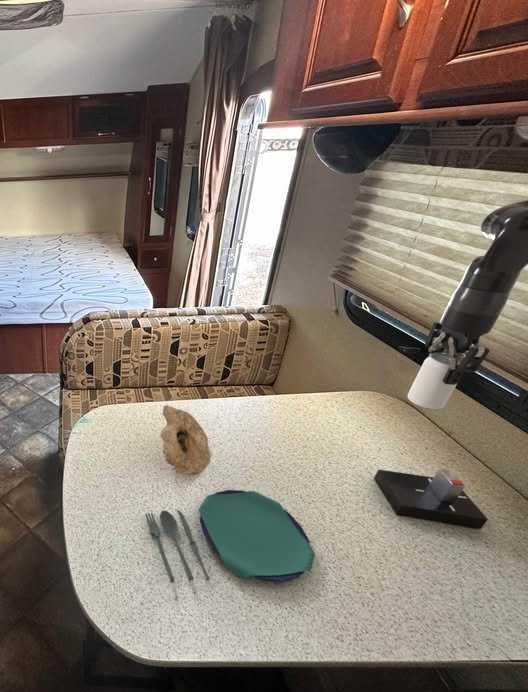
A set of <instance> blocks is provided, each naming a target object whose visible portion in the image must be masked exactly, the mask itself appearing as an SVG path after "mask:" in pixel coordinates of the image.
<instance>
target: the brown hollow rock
mask: <svg viewBox="0 0 528 692" xmlns="http://www.w3.org/2000/svg"><path fill="white" fill-rule="evenodd" d="M162 416H163V417H164V419H165V421H166V425H165V426H164V427H163V428H162V429H161V431H160V438H161V440H162V441H163V445H162V449H163V450H162V453H163V454H164V459H165V461H166V462H167V464H169V465H170V466H172V468H171V470H172V471H174V470H175V472H180V473H185V474H188V475H191V473H200V472H202V471H203V470H205V468H207V467H208V466H209V464H210V461H211V454H210V447H209V440H208V439H209V438H208V436H207V434H206V433H205V430H204V429H203V428H202V427H201V424H199V422H198V421H197V420H196V419H195V417H194V416H193V415H192V414H191V413H190V412H187V411H184V410H182V409H180V408H175V407H174V406H170V405H168V404H166V405H164V406H163V408H162Z"/></svg>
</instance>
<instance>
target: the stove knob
mask: <svg viewBox="0 0 528 692" xmlns="http://www.w3.org/2000/svg"><path fill="white" fill-rule="evenodd" d="M433 477H434V478H433V479H432V481H431V483H430V484H429V486H430V487H431V488H432V490H433V491H434V492H435V494H436V495H437V496H438V498H439V499H440V500H441V502H447V503H454V502H455V500H456V499H457V497H458V496H459V495H460V493H461V492H462V490H463V491H464V489H465V488H466V486H465V484H464V483H463V481H461V480H460V479H459V478H458V477H457V476H456V474H455V473H454V472H453V471H452V470H451V469H446V468H438V470H437V471H436V473H435V474H434V476H433Z"/></svg>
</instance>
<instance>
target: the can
mask: <svg viewBox="0 0 528 692" xmlns="http://www.w3.org/2000/svg"><path fill="white" fill-rule="evenodd" d="M448 355H449V353H445V352H444V353H432V354H430V357H428V356H427V357H428V358H427V357H426V358H425V359H424V361H423V363H422V365H421V366H420V368H419V371H418V373H417V375H416V377H415V379H414V381H413V383H412V385H411V387H410V389H409V392H408V393H407V399H408V400H409V402H411V403H412V404H413V405H415V406H416V407H417V406H418V407H420V408H422V409H426V410H431V411H438V410H442V409H444V408H445V406H446V404H447V403H448V401H449V399H450V397H451V396H452V394H453V392H454V390H455V388H456V386H457V385H458V383H457V384H455V385H451V384H445V383H444V382H443V379H444V377H445V375H446V373H447V371H448V369H449V368H450V365H451V359H450V358H449V357H448ZM461 361H462V360H461V359H458V365H459V364H460V363H461Z"/></svg>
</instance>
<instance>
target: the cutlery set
mask: <svg viewBox="0 0 528 692" xmlns="http://www.w3.org/2000/svg"><path fill="white" fill-rule="evenodd" d="M176 511H177V514H178V516H179V519H180V521H181V523H182V525H183V528H184V530H185V533H186V535H187V537H188V539H189V546H191V548H192V552H193V553H194V554H195V556H196V557H197V561H198V562H199V565H200V566H201V569H202V571H203V574H204V576H205V581H210V580H211V577H210V576H209V575H208V572H207V570H206V568H205V566H204V562H203V560H202V558H201V555H200V553H199V547H198V546H197V545H196V544H197V542H196V541H194V538H193V534H192V531H191V529H190V526H189V523H188V522H187V520H186V517H185V515H184V513H183V512H182V511H180V510H179V509H178V510H176ZM197 511H198V512H199V523H200V526H201V530H202V533H203V536H204V538H205V539H206V541H207V542H208V544H209V545H210V547H211V548H212V550H213V551H214V552H215V553H216V554H217V555H218V556H219V557H220V558H221V561H222V562H223V565H224V567H225V568H226V569H227V570H228V571H230V572H231V573H232V574H235V575H236V576H238V577H240V578H247V577H253V578H255V579H258V580H262V581H264V582H265V581H266V582H278V583H279V582H280V583H284V582H288V581H292V580H295V579H298V578H300V577H301V576H302V575H303V574H304V573H305V572H311V570H312V566H313V564H314V560H315V556H316V554H315V550H314V548H312V545H311V542H310V539H309V537H308V536H307V533H306V532H305V530H304V529H303V527H302V525H301V524H300V523H299V522H298V521H297V520H296V519H295V517H293V515H292V514H291V513H290V512H289V511H287V510H286V509H285V508H284V507H283V506H282V504H281V503H280V502H278V501H276V500H274V499H272V498H270V497H269V496H266V495H264V494H261V493H259V492H257V491H255V490H248V491H246V490H240V489H238V490H237V489H226V490H221V491H218V492H215V493H213V494H208V495H206V497H205V498H204V500H203V502H202V503H201V505H200V506H199V507H198V510H197ZM145 518H146V522H147V526H148V529H149V533H150V535H151V536H152V537H154V540H155V541H156V543H157V546H158V550H159V553H160V556H161V558H162V562H163V564H164V568H165V570H166V573H167V576H168V578H169V581H170V583H175V578H174V574H173V572H172V569H171V566H170V563H169V561H168V559H167V556H166V553H165V550H164V547H163V544H162V541H161V529H160V527H159V525H158V523H157V521H156V519H155V517H154V514H153V512H151V513H150V512H148V513H147V512H146V513H145ZM159 520H160V525H161V526H162V528H163V531H165V532H166V533H167V534H169V535H170V536H171V538H172V539H173V541H174V544H175V547H176V549H177V552H178V554H179V557H180V559H181V562H182V565H183V568H184V571H185V573H186V577H187V579H188V581H193V580H194V576H193V573H192V571H191V569H190V566H189V564H188V562H187V560H186V557H185V555H184V552H183V551H182V549H181V546H180V544H179V542H178V540H177V538H176V535H177V534H178V531H179V530H178V529H179V527H178V523H177V521H176V520H177V519H175V517H174V515H173V514H172V513H170V512H169V511H168V510H161V512H160V514H159Z"/></svg>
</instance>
